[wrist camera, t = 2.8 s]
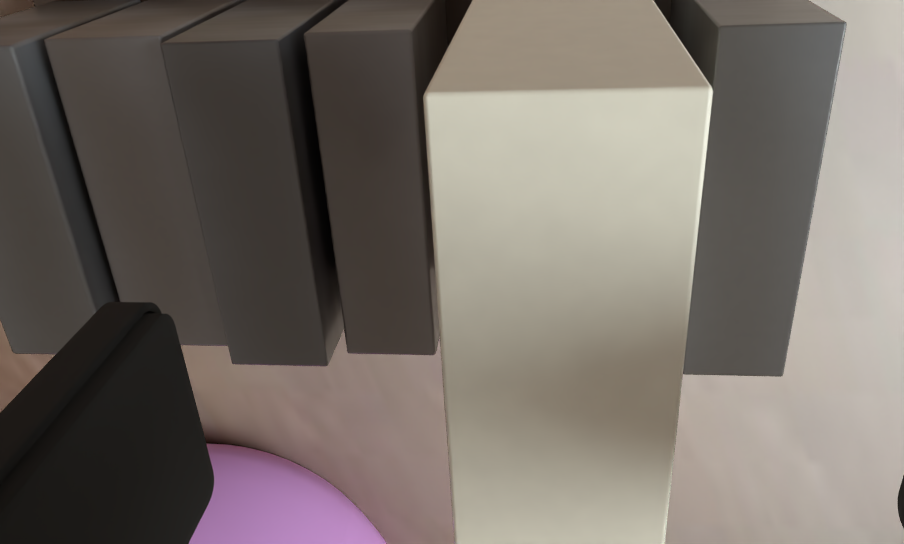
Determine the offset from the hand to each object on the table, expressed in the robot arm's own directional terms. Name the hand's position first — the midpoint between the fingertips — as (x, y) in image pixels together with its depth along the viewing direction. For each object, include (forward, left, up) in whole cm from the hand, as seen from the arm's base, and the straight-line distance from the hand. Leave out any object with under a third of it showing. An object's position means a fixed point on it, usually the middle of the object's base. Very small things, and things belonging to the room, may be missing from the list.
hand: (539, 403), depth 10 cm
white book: (0, 0, -11) cm, 11 cm away
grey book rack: (+4, 0, -12) cm, 13 cm away
